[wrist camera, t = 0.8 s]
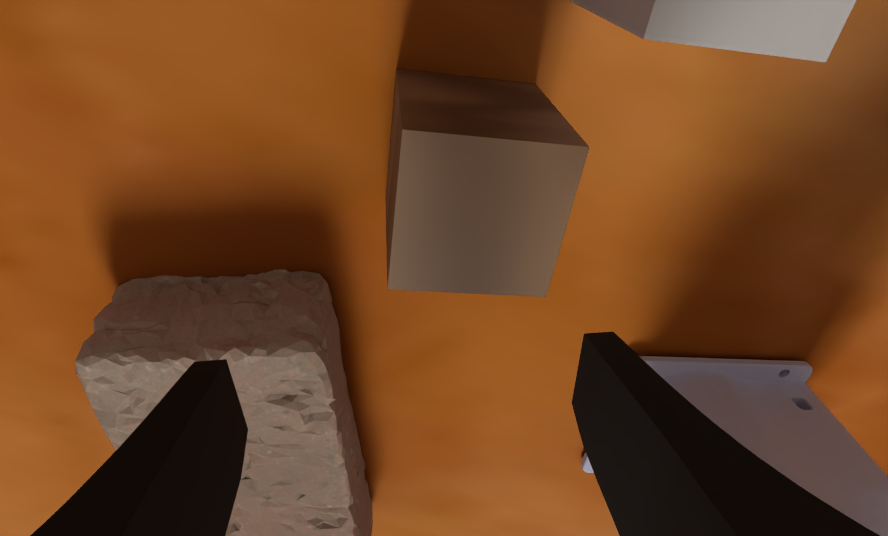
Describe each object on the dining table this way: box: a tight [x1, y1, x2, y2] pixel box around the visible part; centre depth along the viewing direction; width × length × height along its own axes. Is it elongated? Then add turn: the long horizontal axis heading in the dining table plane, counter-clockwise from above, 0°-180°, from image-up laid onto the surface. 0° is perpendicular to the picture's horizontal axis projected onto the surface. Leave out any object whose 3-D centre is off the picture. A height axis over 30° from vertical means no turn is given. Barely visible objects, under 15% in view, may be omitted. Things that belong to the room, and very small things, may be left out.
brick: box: [75, 269, 373, 536], centre depth 23 cm, size 16×8×5 cm, turn 2°
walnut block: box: [386, 69, 589, 297], centre depth 16 cm, size 4×4×6 cm
